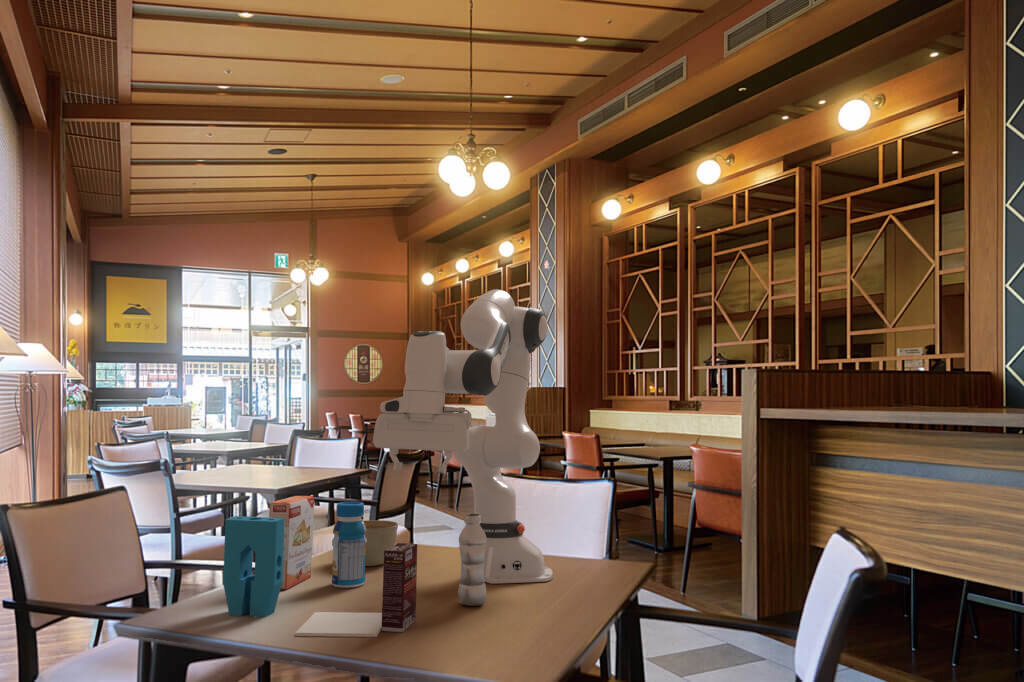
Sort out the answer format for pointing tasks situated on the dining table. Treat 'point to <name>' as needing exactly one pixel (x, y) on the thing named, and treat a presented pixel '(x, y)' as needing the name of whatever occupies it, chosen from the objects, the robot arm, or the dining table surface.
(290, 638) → the dining table surface
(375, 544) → the planter bowl
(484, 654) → the dining table surface
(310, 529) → the cracker box
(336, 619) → the felt mat
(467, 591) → the plastic bottle
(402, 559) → the supplement box
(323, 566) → the dining table surface
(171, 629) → the dining table surface
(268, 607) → the block
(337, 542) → the beverage bottle
